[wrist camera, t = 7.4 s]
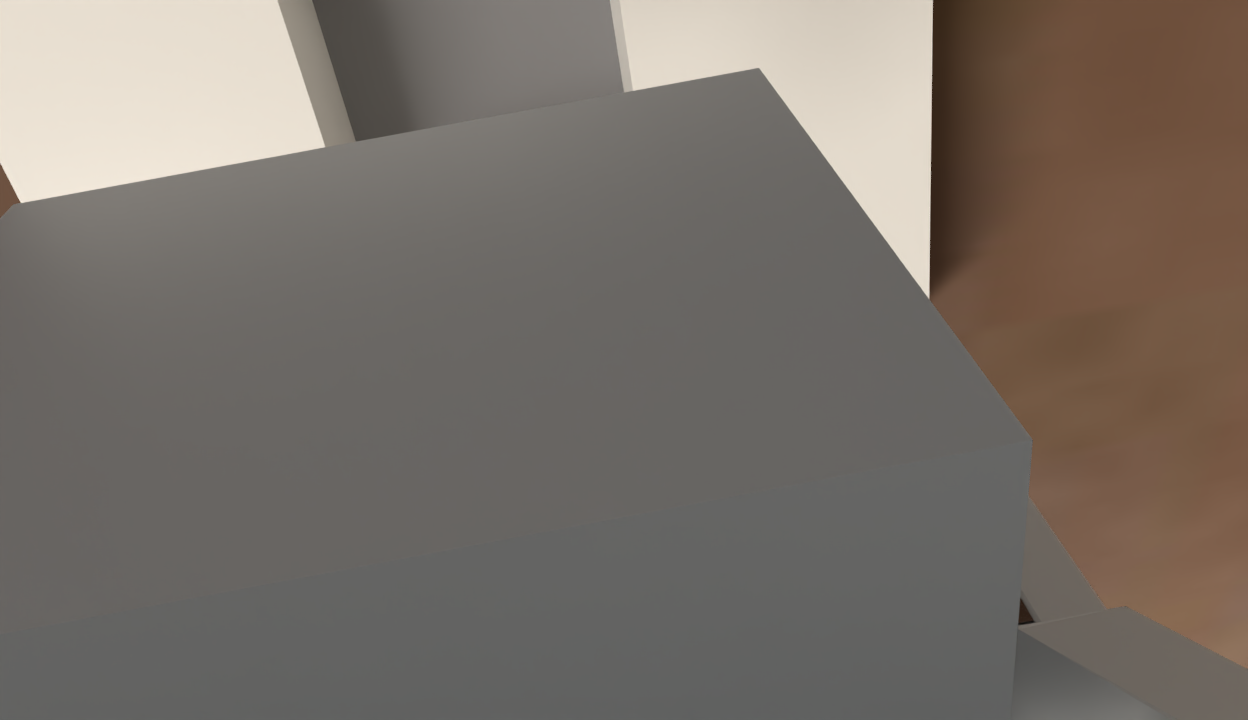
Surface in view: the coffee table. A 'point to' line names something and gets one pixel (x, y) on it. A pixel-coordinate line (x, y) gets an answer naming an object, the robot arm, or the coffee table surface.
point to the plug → (499, 436)
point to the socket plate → (444, 81)
